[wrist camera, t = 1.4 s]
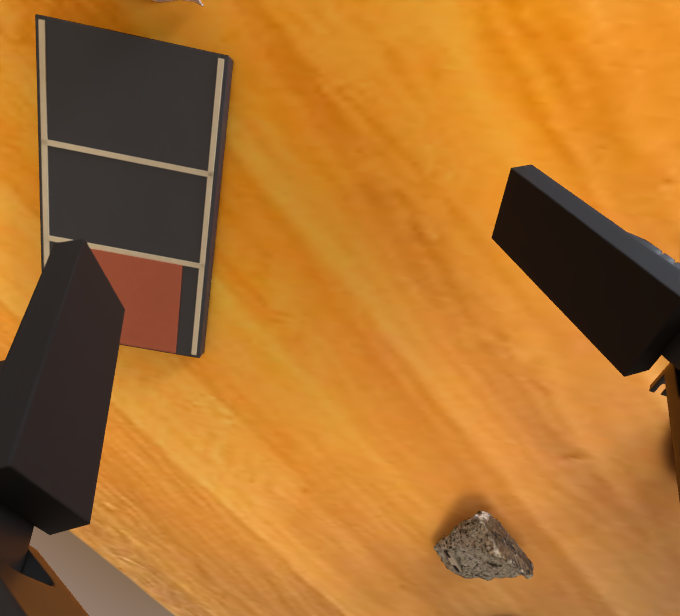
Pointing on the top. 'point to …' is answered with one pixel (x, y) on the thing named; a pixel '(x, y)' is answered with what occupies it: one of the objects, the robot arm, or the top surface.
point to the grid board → (135, 170)
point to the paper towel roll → (196, 0)
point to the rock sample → (483, 550)
